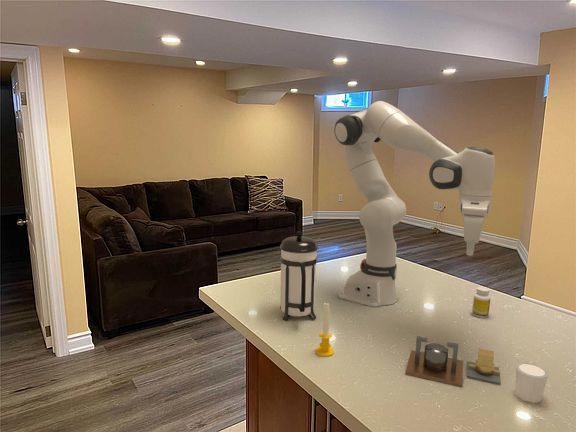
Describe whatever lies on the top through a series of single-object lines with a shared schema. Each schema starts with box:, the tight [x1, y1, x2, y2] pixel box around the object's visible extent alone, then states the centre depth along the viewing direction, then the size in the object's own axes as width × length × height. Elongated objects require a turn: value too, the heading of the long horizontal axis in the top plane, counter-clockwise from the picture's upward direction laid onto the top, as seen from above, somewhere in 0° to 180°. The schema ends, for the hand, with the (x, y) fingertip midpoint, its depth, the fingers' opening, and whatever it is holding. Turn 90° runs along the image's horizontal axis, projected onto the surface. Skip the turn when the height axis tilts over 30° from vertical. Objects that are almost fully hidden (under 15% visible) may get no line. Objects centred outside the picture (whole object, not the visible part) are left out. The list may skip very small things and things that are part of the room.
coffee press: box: [279, 230, 319, 322], centre depth 144 cm, size 17×16×30 cm
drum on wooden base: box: [405, 335, 464, 388], centre depth 114 cm, size 14×12×8 cm
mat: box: [466, 360, 501, 386], centre depth 113 cm, size 8×8×1 cm
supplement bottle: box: [471, 286, 491, 319], centre depth 149 cm, size 5×5×10 cm
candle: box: [315, 301, 335, 358], centre depth 121 cm, size 5×5×16 cm
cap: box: [469, 347, 501, 377], centre depth 112 cm, size 8×4×6 cm, turn 65°
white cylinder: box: [515, 362, 549, 404], centre depth 103 cm, size 7×7×7 cm
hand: (469, 251), depth 124 cm, fingers open, 8 cm apart
